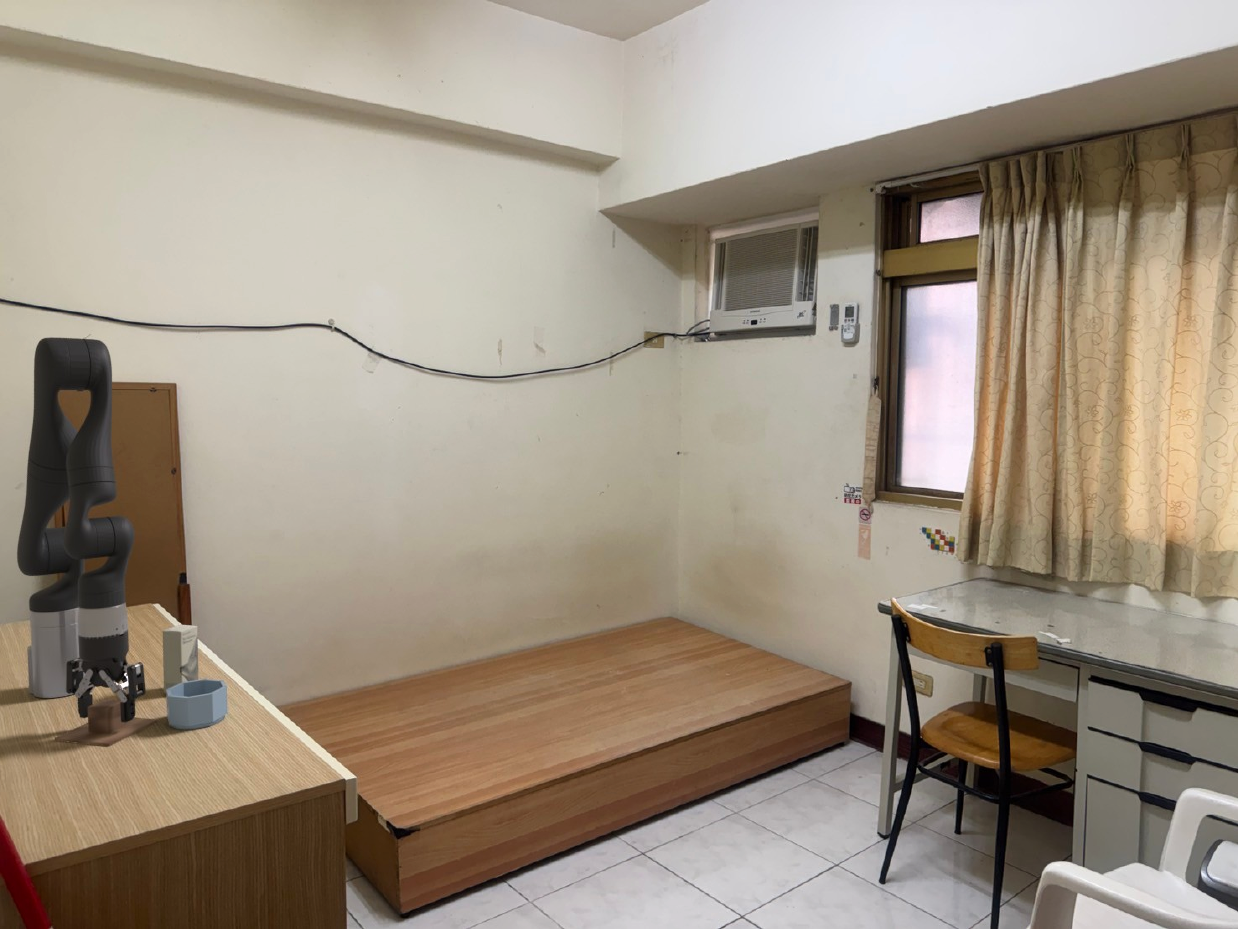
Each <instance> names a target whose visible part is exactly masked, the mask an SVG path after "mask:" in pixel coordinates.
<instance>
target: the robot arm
mask: <svg viewBox="0 0 1238 929" xmlns="http://www.w3.org/2000/svg"><path fill="white" fill-rule="evenodd" d="M33 360H34V363H33V416H32V424H31V425H32V426H31V432H30V434H31V435H30V441H29V449H28V457H27V466H26V467H27V468H26V488H25V490H26V491H25V499H24V500H25V502H24V510H23V513H22V514H23V515H22V520H21V524H20V530H19V536H18V542H17V552H16V559H17V560H16V561H17V562H16V563H17V566H18V568H19V570H20V572H21V574H23V575H25V576H28V577H39V576H41V577H42V576H48V575H57V574H61V576H60V578H59V579H58V580H57V581H55V582H54V583H53V584H51V585H49V586H48V587H45V588H43V589H41V590H39V591H36V592H35V593H32V594H31V595H30V597H29V599H28V600H29V601H28V607H29V622H30V645H29V646H28V647H27V649H26V650H27V655H26V656H27V671H28V672H27V673H28V691H29V692H28V693H29V694H32V695H33V696H34V697H36V698H41V699H53V698H61V697H62V698H63V697H66V696H71V695H72V696H73V695H74V696H75V697H76V698H77V713H78V714H79V718H80V719H86V718H87V719H88V707H89V706H91V705H93V704H94V702H93V701H94V700H93V699H94V698H93V694H91V693H92V692H93V690H94V689H95V688H96V687H97V688H98V687H102V688H108V689H110V690H111V692H112V693H114V694H116V695H117V697H118V698H119V700H121V701H122V702H120V710H121V722H128V721H130V720H132V719H133V718H134V717H136V700H137V698H140V697H142V696H144V695H146V693H147V692H146V681H145V669H144V668H145V667H144V664H143V662H142V661H141V662H137V663H128V660H127V655H128V652H129V651H130V643H129V642H130V641H129V617H128V610H127V604H126V574H127V569H128V564H129V560H130V557H131V553H132V550H133V548H134V542H135V536H136V532H135V527H134V526H133V523H132V522H131V521H130V520H129V519H128V518H127V517H126V516H123V515H114V516H103V517H101V516H100V517H91V518H89V516H88V515H89V513H90V512H89V511H90V510H91V509H92V508H94V507H97V506H98V507H99V506H103V505H106V504H108V503H111V502H114V500H116V499H117V496H118V494H117V493H118V492H117V483H116V476H115V475H116V474H115V468H114V460H113V453H112V452H113V450H112V449H113V448H112V426H113V424H112V423H113V422H112V421H113V367H112V365H113V364H112V359H111V355H110V351H109V349H108V346H107V345H106V343H104V342H103V341H102V340H99V339H94V338H93V339H91V338H75V337H44V338H41V339H40V340H39V342H38V343H37V345H36V347H35V351H34V359H33ZM60 391H89V393H90V402H89V409H88V412H87V414H86V417H85V418H84V420H83V423H82V424H81V426H80V428H79V430H77V428H76V427H75V426H74V424H72V422H71V421H70V420H69V418H68V417H67V416H66V414H65V413H64V411H63V409H62V407H61V405H60V403H59V396H58V395H59V392H60ZM68 501H69V502H68ZM67 502H68V503H69V504H68V506H69V507H68V512H67V519H66V524H65V526H59V527H49V528H48V525H49V523H50V521H51V519H52V518H53V516H54V515H55V514H56V513H57V512H58V511H59V510H60V509H61V508H62V507H63V506H64V505H65V504H66V503H67ZM99 558H107V559H106V561H105V563H104V564H102V565H101V566H100V567H98V568H95V569H93V570H89V571H87V572H85V568H86V562H85V561H86V560H91V559H99ZM120 682H122V683H121V684H120Z"/></svg>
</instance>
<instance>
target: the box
mask: <svg viewBox="0 0 1238 929" xmlns="http://www.w3.org/2000/svg"><path fill="white" fill-rule="evenodd" d="M198 643H199V642H198V625H189V624H178V625H176V626H172V627H169V628H166V629H164V630H162V656H163V657H162V658H163V659H162V660H163V661H162V662H163V693H166V690H167V689H169V688H171V687H173V686H175V685H177V684H180V683H182V682H188V681H194V680H200V678H199V676H200V675H199V648H198V647H199V644H198Z"/></svg>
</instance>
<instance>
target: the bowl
mask: <svg viewBox="0 0 1238 929" xmlns="http://www.w3.org/2000/svg"><path fill="white" fill-rule="evenodd" d="M165 694H166V695H165V696H166V698H165V699H166V718H167V721H168V725H169V726H170V728H172V729H176V730H181V731H182V730H186V731H187V730H197V729H204V728H206V727H210V726H214V725H216V724H218V723H220V722H222V721H223V720H224V719H225V718H226V715H228V713H229V712H228V707H229V706H228V686H227V684H226V682H225V680H224V679H223V680H222V679H213V678H202V679H200V678H199V680H194V681H188V682H182V683H180V684H177V685H175V686H173V687H171V688H169V689H167V690H166V692H165ZM224 717H225V718H224Z"/></svg>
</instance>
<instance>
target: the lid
mask: <svg viewBox="0 0 1238 929" xmlns="http://www.w3.org/2000/svg"><path fill="white" fill-rule="evenodd" d="M120 702H122V701H121V700H120V699H110V698H105V699H103V700H101V701H98V702H96V703H93V705H91V706H89V707H88V717H87V722H85V723H84V724H81V725H79V726H78V727H75V728H73V729H71V730H68V731H66V732H64V733H62V734H60V735H57V736H55V737H54V741H55V740H58V741H57V742H63V741H69V742H68V743H72V742H77V744H82V743H85V744H84V745H93V746H100V747H101V746H102V747H111V746H113V745H115V744H117V743H119V742H121V741H123V740H125V739H127V738H129V737H131V736H132V735H134V734H136V733H138V731H139V732H140V731H143V730H145V729H146V728H148V727H150V726H152V725H154V724H156V723H158V719H155V718H144V717H136V716H135V717H134V718H133V719H132V720H130V721H128V722H121V710H120Z"/></svg>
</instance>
